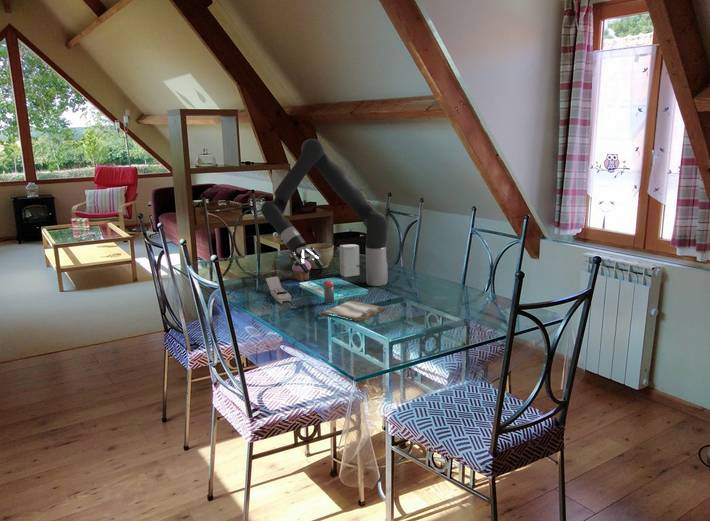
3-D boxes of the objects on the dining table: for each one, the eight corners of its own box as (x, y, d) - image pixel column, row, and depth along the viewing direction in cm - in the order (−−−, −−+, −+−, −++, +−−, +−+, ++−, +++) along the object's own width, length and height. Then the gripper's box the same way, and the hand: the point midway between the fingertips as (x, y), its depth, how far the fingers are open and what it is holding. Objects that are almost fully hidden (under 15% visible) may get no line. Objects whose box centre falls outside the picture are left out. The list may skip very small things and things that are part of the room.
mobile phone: (277, 276, 267) (292, 289, 244) (278, 288, 268) (293, 303, 246) (264, 277, 265) (278, 291, 242) (265, 290, 266) (279, 305, 244)
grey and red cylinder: (328, 300, 247) (328, 280, 245) (336, 302, 244) (335, 281, 242) (322, 303, 244) (321, 282, 242) (330, 304, 241) (329, 283, 239)
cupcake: (300, 283, 274) (298, 262, 272) (289, 280, 281) (288, 259, 278) (315, 279, 280) (314, 259, 278) (304, 276, 286) (303, 256, 284)
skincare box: (344, 277, 282) (343, 247, 279) (339, 274, 288) (338, 244, 284) (360, 275, 286) (359, 245, 282) (355, 272, 291) (354, 243, 288)
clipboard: (350, 302, 244) (350, 297, 243) (386, 309, 233) (386, 304, 233) (322, 314, 230) (322, 309, 229) (359, 322, 219) (359, 317, 219)
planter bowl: (340, 265, 307) (339, 244, 305) (322, 272, 294) (321, 250, 291) (315, 262, 316) (314, 242, 313) (297, 268, 302) (295, 248, 300)
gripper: (285, 237, 242) (308, 267, 238) (308, 231, 253) (330, 260, 249) (277, 248, 246) (298, 278, 242) (300, 242, 257) (321, 271, 253)
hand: (314, 269), depth 245 cm, fingers open, 8 cm apart
